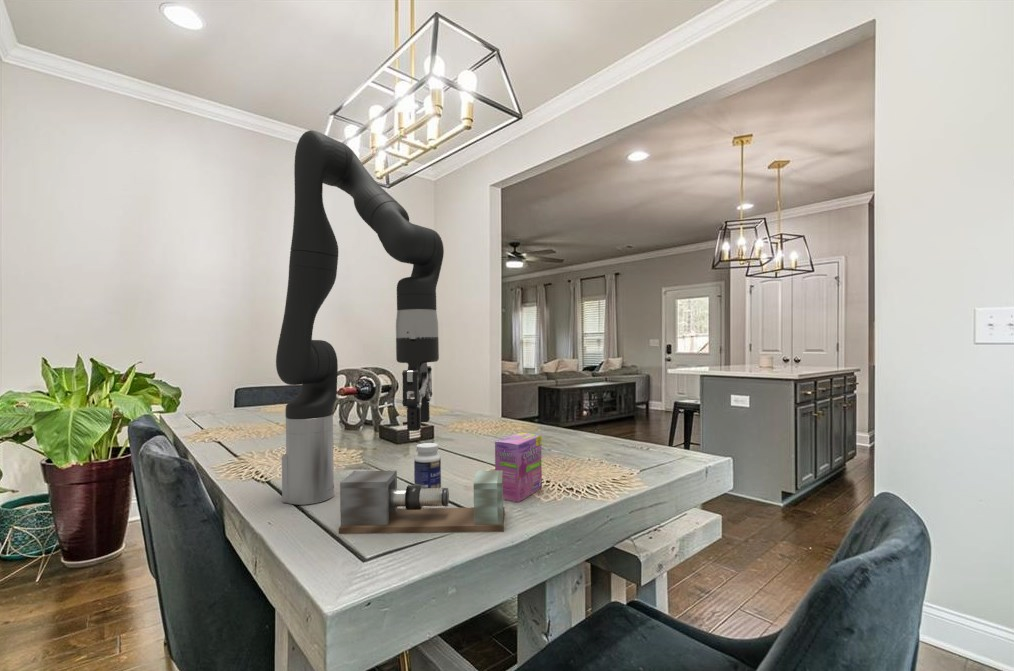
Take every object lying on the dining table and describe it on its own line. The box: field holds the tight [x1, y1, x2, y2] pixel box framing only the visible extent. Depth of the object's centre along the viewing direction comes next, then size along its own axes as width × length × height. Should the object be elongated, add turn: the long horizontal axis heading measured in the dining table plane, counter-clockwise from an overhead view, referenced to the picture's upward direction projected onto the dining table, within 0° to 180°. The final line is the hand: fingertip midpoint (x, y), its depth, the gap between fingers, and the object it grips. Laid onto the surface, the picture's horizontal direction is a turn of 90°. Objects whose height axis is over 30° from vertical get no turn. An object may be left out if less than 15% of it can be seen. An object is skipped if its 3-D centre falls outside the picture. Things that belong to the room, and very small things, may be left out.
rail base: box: [338, 469, 506, 535], centre depth 84 cm, size 28×9×8 cm, turn 89°
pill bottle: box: [413, 442, 442, 488], centre depth 103 cm, size 6×6×10 cm
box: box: [494, 432, 543, 503], centre depth 100 cm, size 10×6×12 cm, turn 148°
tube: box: [388, 484, 450, 510], centre depth 84 cm, size 18×4×4 cm, turn 89°
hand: (419, 426), depth 84 cm, fingers open, 8 cm apart
